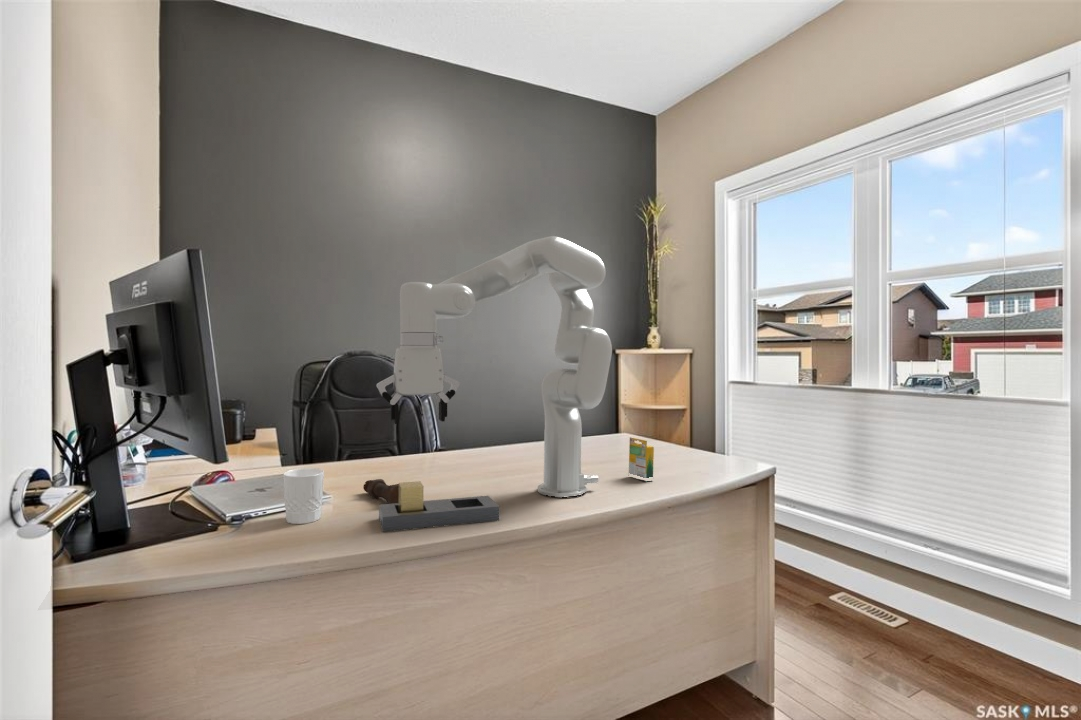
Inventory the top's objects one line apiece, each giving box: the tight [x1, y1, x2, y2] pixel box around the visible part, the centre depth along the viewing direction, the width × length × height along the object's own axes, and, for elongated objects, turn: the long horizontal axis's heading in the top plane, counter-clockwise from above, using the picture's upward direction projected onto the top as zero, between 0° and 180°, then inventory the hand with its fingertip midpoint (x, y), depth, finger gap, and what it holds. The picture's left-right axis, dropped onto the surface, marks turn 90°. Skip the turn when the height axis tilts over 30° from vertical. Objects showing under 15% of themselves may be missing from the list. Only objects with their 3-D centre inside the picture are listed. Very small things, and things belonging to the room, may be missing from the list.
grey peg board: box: [378, 495, 500, 533], centre depth 117 cm, size 24×9×3 cm, turn 111°
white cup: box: [282, 467, 325, 525], centre depth 116 cm, size 8×8×10 cm
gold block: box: [398, 480, 425, 513], centre depth 115 cm, size 4×4×8 cm
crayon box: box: [628, 437, 655, 478], centre depth 157 cm, size 7×3×12 cm, turn 32°
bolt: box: [362, 478, 399, 504], centre depth 132 cm, size 6×5×15 cm
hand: (419, 421), depth 117 cm, fingers open, 9 cm apart
